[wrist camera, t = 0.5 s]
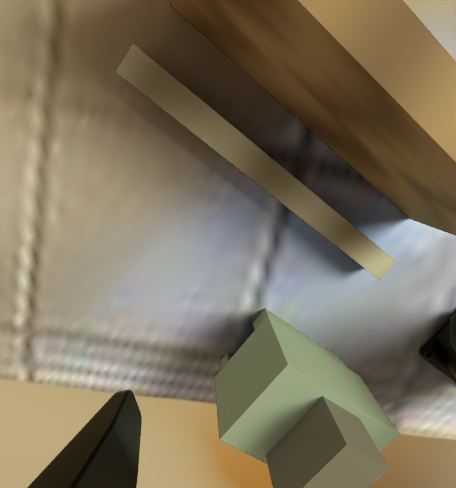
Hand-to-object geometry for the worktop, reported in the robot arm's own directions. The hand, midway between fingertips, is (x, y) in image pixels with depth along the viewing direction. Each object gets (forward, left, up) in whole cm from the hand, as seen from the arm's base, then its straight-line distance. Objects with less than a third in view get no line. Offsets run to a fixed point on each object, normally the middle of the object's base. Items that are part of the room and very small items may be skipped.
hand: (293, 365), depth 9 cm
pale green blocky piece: (-9, +6, -14) cm, 17 cm away
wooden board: (+1, -7, -13) cm, 15 cm away
